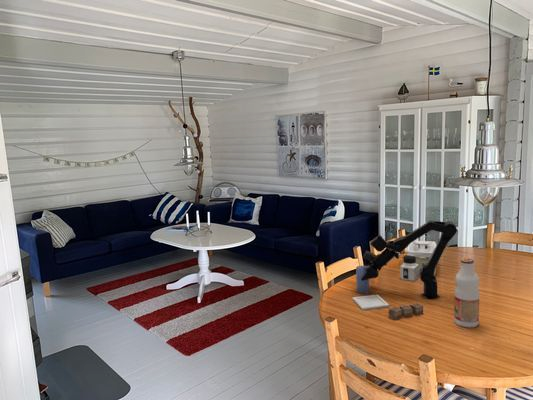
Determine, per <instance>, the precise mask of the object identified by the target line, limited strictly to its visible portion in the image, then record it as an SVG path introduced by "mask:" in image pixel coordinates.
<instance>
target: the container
mask: <svg viewBox="0 0 533 400" xmlns="http://www.w3.org/2000/svg"><path fill="white" fill-rule="evenodd" d="M402 258H403V259H402V260H403V263H402V264H401V265H400V279H401V280H404V281H405V280H406V281H411V282H415V281H417V279H418V278H420V275H419V265H418V264H416V257H415V256H413V255H407V254H405V255H403V257H402Z"/></svg>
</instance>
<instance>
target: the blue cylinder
mask: <svg viewBox="0 0 533 400" xmlns="http://www.w3.org/2000/svg"><path fill="white" fill-rule="evenodd" d="M367 267H368V265H357V266H355V269H356V270H355V274H356V276H355V278H356V292H357V293H358V294H361V295H362V294H365V295H366V294H367V295H368V294H369V293H370V279H367V280H364V281H362V280H361V278H362V277H363V276H364V275H365V273H366V269H367Z"/></svg>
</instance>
